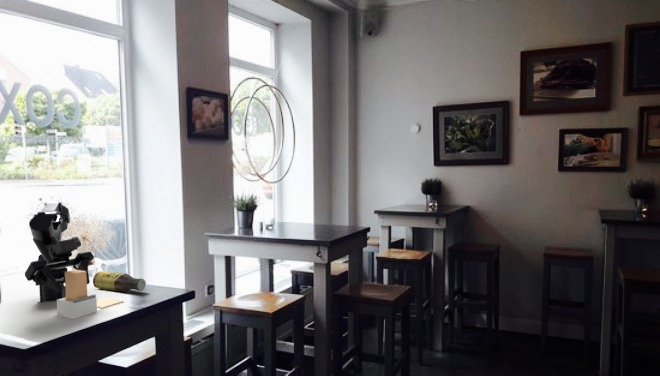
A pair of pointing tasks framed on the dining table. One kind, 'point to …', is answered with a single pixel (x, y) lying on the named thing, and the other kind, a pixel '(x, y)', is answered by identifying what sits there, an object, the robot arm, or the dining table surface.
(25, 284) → the dining table surface
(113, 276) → the sauce bottle
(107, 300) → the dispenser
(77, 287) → the tan rectangular block
